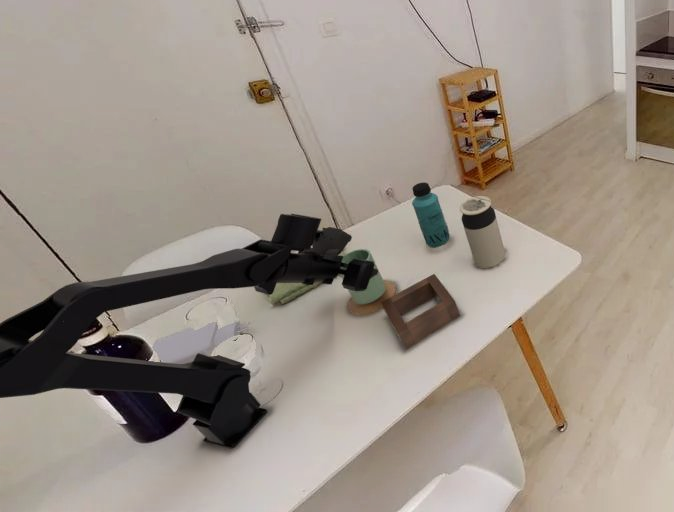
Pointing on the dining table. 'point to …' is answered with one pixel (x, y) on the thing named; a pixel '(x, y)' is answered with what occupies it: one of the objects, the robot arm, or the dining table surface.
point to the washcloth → (290, 290)
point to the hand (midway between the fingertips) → (365, 269)
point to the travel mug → (482, 231)
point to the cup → (375, 283)
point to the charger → (194, 342)
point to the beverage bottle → (430, 216)
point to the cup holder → (425, 321)
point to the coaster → (373, 306)
